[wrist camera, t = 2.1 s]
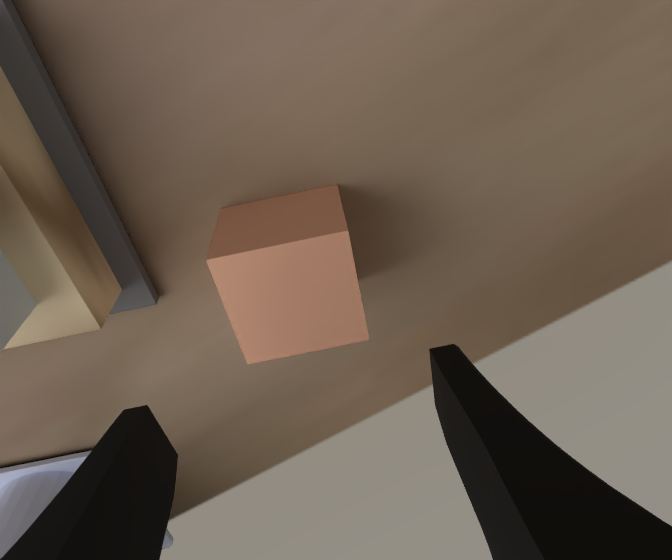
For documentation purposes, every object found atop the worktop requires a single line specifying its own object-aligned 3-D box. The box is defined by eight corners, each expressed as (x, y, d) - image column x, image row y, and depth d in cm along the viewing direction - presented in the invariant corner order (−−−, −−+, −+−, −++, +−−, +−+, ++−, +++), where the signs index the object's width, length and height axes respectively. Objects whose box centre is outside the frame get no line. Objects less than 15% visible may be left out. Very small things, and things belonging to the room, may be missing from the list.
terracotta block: (355, 280, 20) (369, 340, 17) (254, 300, 20) (247, 364, 17) (336, 183, 18) (348, 230, 14) (221, 207, 18) (206, 260, 14)
